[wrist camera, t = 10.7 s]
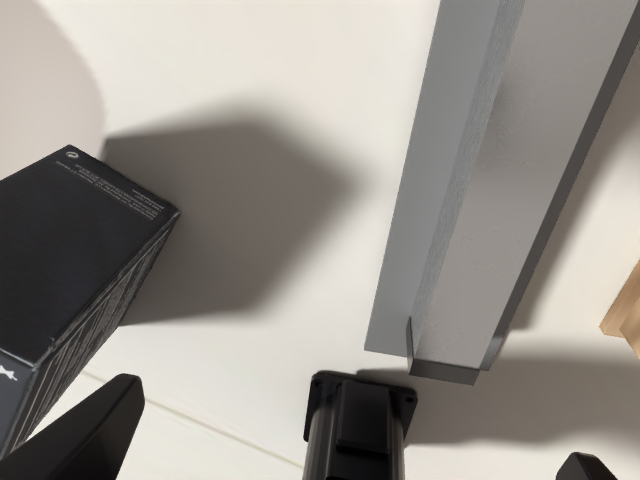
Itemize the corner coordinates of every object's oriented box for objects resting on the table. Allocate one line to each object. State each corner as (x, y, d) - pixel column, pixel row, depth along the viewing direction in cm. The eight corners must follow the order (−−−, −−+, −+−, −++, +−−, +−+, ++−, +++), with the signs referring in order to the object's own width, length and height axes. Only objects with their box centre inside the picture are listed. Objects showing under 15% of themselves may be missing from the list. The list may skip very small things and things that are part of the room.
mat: (486, 365, 24) (488, 370, 24) (364, 345, 25) (364, 350, 24) (809, -356, 11) (823, -367, 10) (524, -378, 11) (528, -390, 11)
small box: (62, 133, 20) (-188, 255, 11) (186, 208, 22) (47, 370, 13) (17, 276, 25) (-179, 436, 17) (118, 329, 27) (-13, 504, 18)
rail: (463, 339, 23) (473, 385, 20) (405, 329, 23) (408, 374, 21) (692, -255, 11) (783, -324, 9) (574, -265, 12) (629, -335, 9)
